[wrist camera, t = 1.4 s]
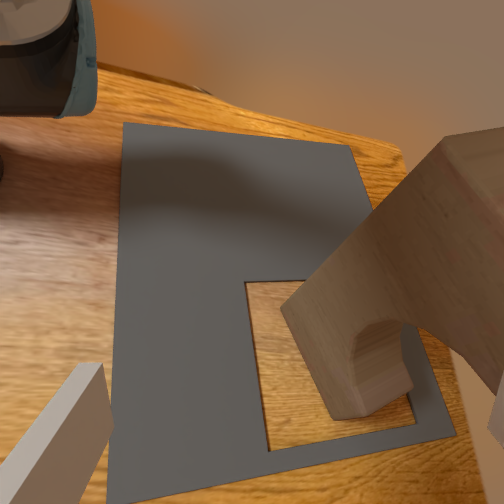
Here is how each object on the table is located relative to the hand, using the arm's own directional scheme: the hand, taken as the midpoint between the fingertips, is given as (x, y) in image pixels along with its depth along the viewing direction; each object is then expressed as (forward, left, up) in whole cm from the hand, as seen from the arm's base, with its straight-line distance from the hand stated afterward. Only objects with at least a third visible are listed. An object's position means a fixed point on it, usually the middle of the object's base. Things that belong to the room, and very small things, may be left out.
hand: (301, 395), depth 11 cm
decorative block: (-7, +17, -30) cm, 35 cm away
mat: (-20, +12, -29) cm, 37 cm away
